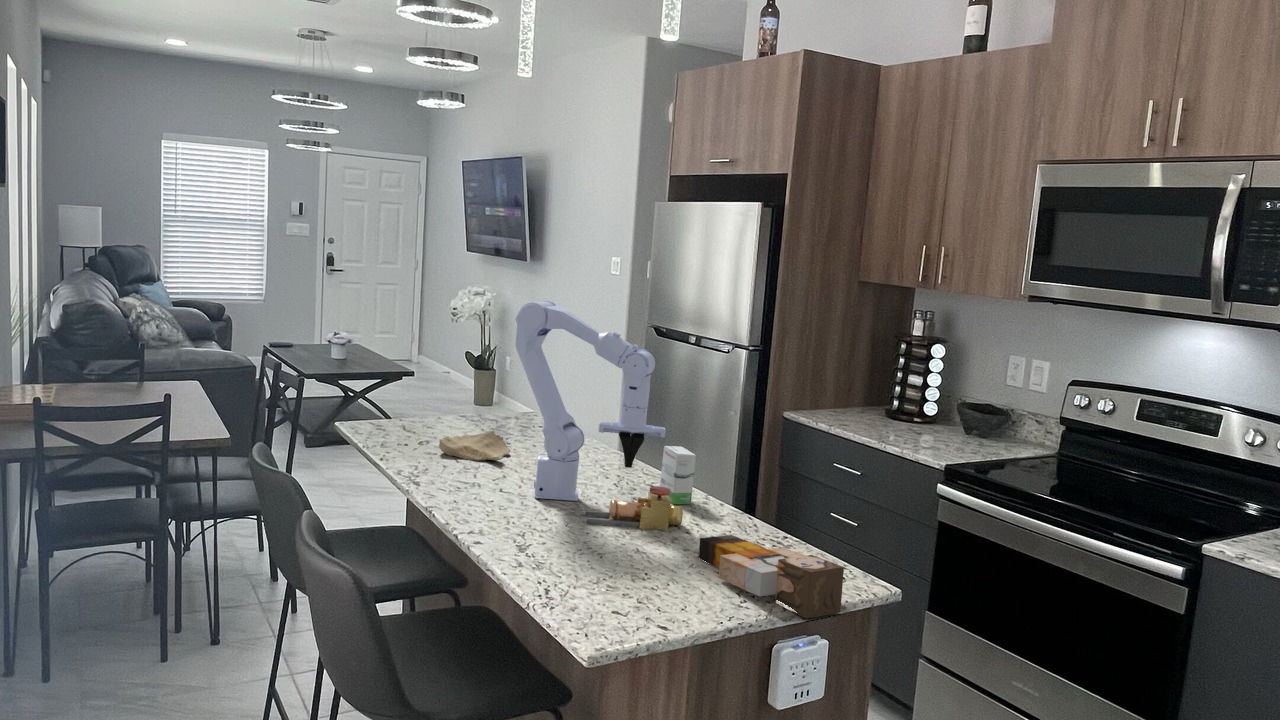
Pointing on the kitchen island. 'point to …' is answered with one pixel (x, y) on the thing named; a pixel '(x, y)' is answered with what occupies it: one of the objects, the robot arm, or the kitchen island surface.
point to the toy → (777, 574)
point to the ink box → (678, 473)
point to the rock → (475, 446)
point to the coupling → (625, 510)
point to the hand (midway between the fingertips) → (628, 466)
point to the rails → (607, 521)
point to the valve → (659, 510)
